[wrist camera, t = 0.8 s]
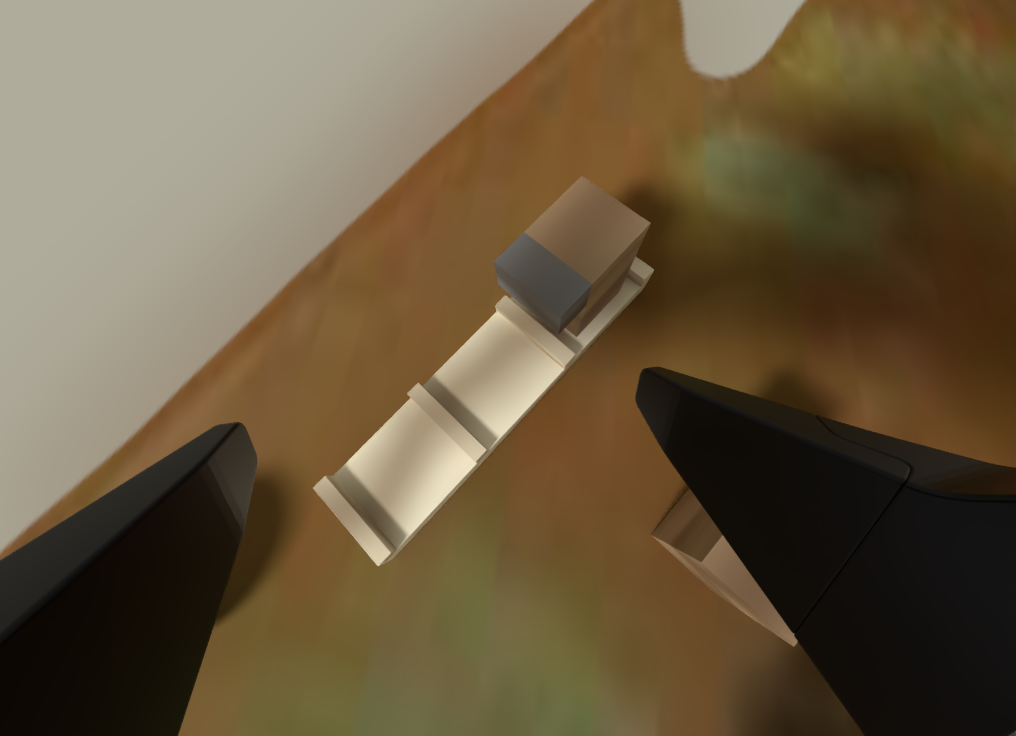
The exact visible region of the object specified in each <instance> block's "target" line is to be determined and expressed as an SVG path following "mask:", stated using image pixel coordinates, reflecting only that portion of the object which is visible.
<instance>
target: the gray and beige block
mask: <svg viewBox="0 0 1016 736" xmlns="http://www.w3.org/2000/svg"><path fill="white" fill-rule="evenodd" d="M651 535H652V536H653V537H654V538H655V539H656V540H657V541H658V542H659V543H661V544H662V545H663V546H664V547H665V548H666V549H667V550H668V551H669V552H670V553H671V554H672V555H674V556H675V557H676V558H677V559H678V560H679V561H680V562H681V563H682V564H683V565H684V566H685V567H687V568H688V569H689V570H690V571H691V572H692V573H693V574H694V575H695V576H696V577H697V578H698V579H699V580H701V581H702V582H703V583H704V584H705V585H706V586H707V587H708V588H709V589H710V590H711V591H713V592H714V593H716V594H717V595H719V596H720V597H721V598H723V599H724V600H726V601H727V602H729V603H730V604H732V605H733V606H735V607H736V608H738V609H739V610H741V611H742V612H743V613H745V614H746V615H748V616H749V617H751V618H752V619H754V620H755V621H757V622H758V623H760V624H761V625H763V626H764V627H766V628H767V629H768V630H770V631H771V632H773V633H774V634H776V635H777V636H779V637H780V638H782V639H783V640H785V641H786V642H788V643H789V644H790V645H792V646H793V647H794V646H795V645H796V644H797V642H798V641H797V640H796V638H795V637H794V633H792V632H791V631H790V629H789V628H788V626H787V625H786V624H785V622H784V621H783V619H782V618H781V617H780V615H779V614H778V612H777V611H776V610H775V608H774V607H773V605H772V604H771V603H770V601H769V600H768V598H767V597H766V595H765V594H764V593H763V591H762V590H761V588H760V587H759V586H758V584H757V583H756V581H755V580H754V579H753V577H752V576H751V574H750V573H749V572H748V570H747V569H746V567H745V566H744V565H743V563H742V562H741V560H740V559H739V557H738V556H737V555H736V553H735V552H734V550H733V549H732V548H731V546H730V545H729V543H728V542H727V541H726V539H725V538H724V536H723V535H722V534H721V532H720V531H719V529H718V528H717V527H716V525H715V524H714V522H713V521H712V519H711V518H710V517H709V515H708V514H707V512H706V511H705V510H704V508H703V507H702V505H701V504H700V503H699V501H698V500H697V498H696V497H695V496H694V494H693V493H692V491H691V490H690V489H688V490H687V491H686V492H685V494H684V495H683V496H682V497H681V499H680V500H679V501H678V502H677V504H676V505H675V506H674V507H673V509H672V510H671V511H670V512H669V513H668V515H667V516H666V517H665V518H664V520H663V521H662V522H661V523H660V525H659V526H658V527H657V528H656V529H655V531H654V532H653V533H652V534H651Z"/></svg>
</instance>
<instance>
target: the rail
mask: <svg viewBox="0 0 1016 736" xmlns="http://www.w3.org/2000/svg"><path fill="white" fill-rule="evenodd" d="M650 224H651V223H650V222H648V221H647V220H645V219H644V218H642V217H641V216H640V215H638V214H637V213H635V212H634V211H632V210H631V209H629V208H628V207H626V206H625V205H624V204H622V203H621V202H619V201H618V200H616V199H615V198H613V197H612V196H610V195H609V194H608V193H606V192H605V191H603V190H602V189H600V188H599V187H597V186H596V185H594V184H593V183H591V182H590V181H589V180H587V179H586V178H584V177H583V176H581V177H580V178H579V179H578V180H577V181H576V182H575V183H574V184H573V185H572V186H571V187H570V188H569V189H568V190H567V191H566V192H565V193H564V194H563V195H562V196H561V197H560V198H559V199H558V200H557V201H555V202H554V203H553V204H552V205H551V206H550V207H549V208H548V209H547V210H546V211H545V212H544V213H543V214H542V215H541V216H540V217H539V218H538V219H537V220H536V221H535V222H534V223H533V224H532V225H531V226H530V227H529V228H528V229H527V230H526V231H525V232H524V233H523V234H522V235H521V236H520V237H519V238H518V239H517V240H515V241H514V242H513V243H512V244H511V245H510V246H509V247H508V248H507V249H506V250H505V251H504V252H503V253H502V254H501V255H500V256H499V257H498V258H497V259H496V260H495V261H494V264H495V269H496V274H497V279H498V284H499V286H500V287H502V288H503V289H504V290H505V291H506V292H508V293H509V294H510V295H511V296H512V297H511V298H510V299H509V298H508V297H507V296H504V297H503V298H502V299H501V300H500V301H499V302H498V303H497V304H496V305H495V307H496V311H497V312H496V313H495V314H494V315H493V316H492V317H491V318H490V319H489V320H488V321H487V322H486V323H485V324H484V325H483V326H482V327H481V328H480V329H479V330H478V331H477V332H476V333H475V334H474V335H473V336H472V337H471V338H470V339H469V340H468V341H467V342H466V343H465V344H464V345H463V346H462V347H461V348H460V349H459V350H458V351H457V352H456V353H455V354H454V355H453V356H452V357H451V358H450V359H449V360H448V361H447V362H446V363H445V364H444V365H443V366H442V367H441V368H440V369H439V370H438V371H437V372H436V373H435V374H434V375H433V376H432V377H431V378H430V379H429V380H428V381H427V382H426V383H425V384H424V385H423V386H422V385H421V384H419V383H417V384H416V385H415V386H414V387H413V388H412V389H411V390H410V391H409V392H408V393H407V394H408V395H409V396H410V397H411V398H410V399H409V400H408V401H407V402H406V403H405V404H404V405H403V406H402V407H401V408H400V409H399V410H398V411H397V412H396V413H395V414H394V415H393V416H392V417H391V418H390V419H389V420H388V421H387V422H386V423H385V424H384V425H383V426H382V427H381V428H380V429H379V430H378V431H377V432H376V433H375V434H374V435H373V436H372V437H371V438H370V439H369V440H368V441H367V442H366V443H365V444H364V445H363V446H362V447H361V448H360V449H359V450H358V451H357V452H356V453H355V454H354V455H353V456H352V457H351V458H350V459H349V460H348V461H347V462H346V464H345V465H344V466H343V467H342V468H341V469H340V470H339V471H338V472H337V473H336V474H335V475H334V476H324V477H323V478H322V479H321V480H320V481H319V482H318V483H317V484H316V485H315V486H314V487H313V489H314V490H315V491H316V493H317V494H318V495H319V496H320V497H321V498H322V500H323V501H324V502H325V503H326V504H327V506H328V507H329V508H330V509H331V510H332V512H333V513H334V514H335V515H336V516H337V518H338V519H339V520H340V521H341V522H342V524H343V525H344V526H345V527H346V528H347V530H348V531H349V532H350V533H351V534H352V536H353V537H354V538H355V539H356V540H357V542H358V543H359V544H360V545H361V546H362V548H363V549H364V550H365V551H366V552H367V554H368V555H369V556H370V557H371V558H372V560H373V561H374V562H375V563H376V564H377V566H380V565H382V564H384V563H386V562H388V561H389V560H391V559H393V558H394V557H395V556H396V555H397V554H398V553H399V552H400V551H401V550H402V549H403V548H404V547H405V546H406V545H407V544H408V542H409V541H410V540H411V539H412V538H413V537H414V536H415V535H416V534H417V533H418V532H419V531H420V530H421V528H422V527H423V526H424V525H425V524H426V523H427V522H428V521H429V520H430V519H431V518H432V517H433V515H434V514H435V513H436V512H437V511H438V510H439V509H440V508H441V507H442V506H443V505H444V504H445V503H446V501H447V500H448V499H449V498H450V497H451V496H452V495H453V494H454V493H455V492H456V491H457V490H458V488H459V487H460V486H461V485H462V484H463V483H464V482H465V481H466V480H467V479H468V478H469V477H470V476H471V474H472V473H473V472H474V471H475V470H476V469H477V468H478V467H479V466H480V465H481V464H482V463H483V462H484V460H485V459H486V458H487V457H488V456H489V455H490V454H491V453H492V452H493V451H494V450H495V449H496V447H497V446H498V445H499V444H500V443H501V442H502V441H503V440H504V439H505V438H506V437H507V436H508V435H509V433H510V432H511V431H512V430H513V429H514V428H515V427H516V426H517V425H518V424H519V423H520V422H521V420H522V419H523V418H524V417H525V416H526V415H527V414H528V413H529V412H530V411H531V410H532V409H533V408H534V406H535V405H536V404H537V403H538V402H539V401H540V400H541V399H542V398H543V397H544V396H545V395H546V394H547V392H548V391H549V390H550V389H551V388H552V387H553V386H554V385H555V384H556V383H557V382H558V381H559V379H560V378H561V377H562V376H563V375H564V374H565V373H566V372H567V371H568V370H569V369H570V368H571V367H572V365H573V364H574V363H575V362H576V361H577V360H578V359H579V358H580V357H581V356H582V355H583V354H584V352H585V351H586V350H587V349H588V348H589V347H590V346H591V345H592V344H593V343H594V342H595V341H596V340H597V338H598V337H599V336H600V335H601V334H602V333H603V332H604V331H605V330H606V329H607V328H608V327H609V326H610V324H611V323H612V322H613V321H614V320H615V319H616V318H617V317H618V316H619V315H620V314H621V313H622V311H623V310H624V309H625V308H626V307H627V306H628V305H629V304H630V303H631V302H632V301H633V300H634V299H635V297H636V296H637V295H638V294H639V293H640V292H641V291H642V290H643V289H644V287H645V286H646V284H647V282H648V280H649V279H650V277H651V275H652V273H653V271H654V269H653V268H651V267H650V266H648V265H647V264H646V263H644V262H643V261H641V260H640V259H639V258H637V257H636V254H637V252H638V250H639V248H640V246H641V243H642V241H643V239H644V237H645V235H646V233H647V230H648V228H649V226H650Z"/></svg>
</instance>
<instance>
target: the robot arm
mask: <svg viewBox="0 0 1016 736" xmlns="http://www.w3.org/2000/svg"><path fill="white" fill-rule="evenodd" d="M635 398H636V403H637V406H638V408H639V410H640V411H641V413H642V415H643V417H644V418H645V420H646V422H647V424H648V425H649V427H650V429H651V431H652V432H653V434H654V436H655V438H656V440H657V441H658V443H659V445H660V446H661V448H662V450H663V451H664V453H665V454H666V456H667V457H668V459H669V460H670V462H671V463H672V465H673V466H674V467H675V469H676V470H677V472H678V473H679V474H680V476H681V477H682V479H683V480H684V481H685V483H686V484H687V486H688V487H689V489H690V490H691V491H692V493H693V494H694V496H695V497H696V498H697V500H698V501H699V503H700V504H701V505H702V507H703V508H704V510H705V511H706V512H707V514H708V515H709V517H710V518H711V519H712V521H713V522H714V524H715V525H716V527H717V528H718V529H719V531H720V532H721V534H722V535H723V536H724V538H725V539H726V541H727V542H728V543H729V545H730V546H731V548H732V549H733V550H734V552H735V553H736V555H737V556H738V557H739V559H740V560H741V562H742V563H743V565H744V566H745V567H746V569H747V570H748V572H749V573H750V574H751V576H752V577H753V579H754V580H755V581H756V583H757V584H758V586H759V587H760V588H761V590H762V591H763V593H764V594H765V595H766V597H767V598H768V600H769V601H770V603H771V604H772V605H773V607H774V608H775V610H776V611H777V612H778V614H779V615H780V617H781V618H782V619H783V621H784V622H785V624H786V625H787V626H788V628H789V629H790V631H791V632H792V633H794V637H795V638H796V640H797V641H798V642H799V644H800V645H801V647H802V648H803V649H804V651H805V652H806V654H807V655H808V657H809V658H810V659H811V661H812V662H813V664H814V665H815V666H816V668H817V669H818V671H819V672H820V673H821V675H822V676H823V678H824V679H825V680H826V682H827V683H828V685H829V686H830V688H831V689H832V690H833V692H834V693H835V695H836V696H837V697H838V699H839V700H840V702H841V703H842V704H843V706H844V707H845V709H846V710H847V711H848V713H849V714H850V716H851V717H852V719H853V720H854V721H855V723H856V724H857V726H858V727H859V728H860V730H861V731H862V733H863V734H864V735H865V736H1016V468H1013V467H1007V466H1001V465H996V464H991V463H987V462H983V461H979V460H975V459H972V458H968V457H964V456H960V455H957V454H953V453H949V452H945V451H942V450H938V449H934V448H931V447H927V446H923V445H919V444H916V443H912V442H908V441H904V440H901V439H897V438H894V437H890V436H886V435H883V434H879V433H876V432H872V431H868V430H865V429H861V428H858V427H855V426H851V425H848V424H845V423H841V422H838V421H835V420H831V419H828V418H825V417H821V416H818V415H815V416H814V415H813V414H811V413H808V412H805V411H802V410H798V409H795V408H792V407H789V406H785V405H782V404H779V403H776V402H772V401H769V400H766V399H763V398H759V397H756V396H753V395H750V394H746V393H743V392H740V391H737V390H733V389H730V388H727V387H723V386H720V385H717V384H714V383H710V382H707V381H704V380H701V379H697V378H694V377H691V376H688V375H684V374H681V373H678V372H675V371H671V370H668V369H665V368H662V367H651V368H645V369H643V370H642V371H641V373H640V377H639V382H638V386H637V391H636V396H635ZM256 468H257V455H256V452H255V449H254V447H253V444H252V442H251V439H250V437H249V434H248V432H247V430H246V428H245V426H244V425H243V424H242V423H240V422H234V423H227V424H219V425H216V426H214V427H213V428H211V429H209V430H208V431H206V432H205V433H203V434H201V435H200V436H198V437H197V438H195V439H193V440H192V441H190V442H189V443H187V444H185V445H184V446H182V447H181V448H179V449H177V450H176V451H174V452H173V453H171V454H169V455H168V456H166V457H165V458H163V459H161V460H160V461H158V462H157V463H155V464H153V465H152V466H150V467H149V468H147V469H145V470H144V471H142V472H141V473H139V474H137V475H136V476H134V477H133V478H131V479H129V480H128V481H126V482H125V483H123V484H121V485H120V486H118V487H117V488H115V489H113V490H112V491H110V492H109V493H107V494H106V495H104V496H102V497H101V498H99V499H98V500H96V501H94V502H93V503H91V504H90V505H88V506H86V507H85V508H83V509H82V510H80V511H78V512H77V513H75V514H74V515H72V516H70V517H69V518H67V519H66V520H64V521H62V522H61V523H59V524H58V525H56V526H54V527H53V528H51V529H50V530H48V531H46V532H45V533H43V534H42V535H40V536H38V537H37V538H35V539H34V540H32V541H30V542H29V543H27V544H26V545H24V546H22V547H21V548H19V549H18V550H16V551H14V552H13V553H11V554H10V555H8V556H6V557H5V558H3V559H2V560H0V736H178V734H179V731H180V728H181V725H182V722H183V719H184V716H185V713H186V709H187V706H188V703H189V700H190V697H191V694H192V691H193V688H194V685H195V682H196V679H197V676H198V673H199V670H200V667H201V664H202V660H203V657H204V654H205V651H206V648H207V645H208V642H209V639H210V636H211V633H212V630H213V627H214V624H215V621H216V618H217V614H218V611H219V608H220V605H221V602H222V599H223V596H224V593H225V590H226V587H227V584H228V581H229V578H230V575H231V572H232V569H233V565H234V562H235V559H236V556H237V553H238V550H239V547H240V544H241V540H242V537H243V534H244V529H245V525H246V520H247V515H248V510H249V504H250V499H251V494H252V489H253V484H254V478H255V473H256Z"/></svg>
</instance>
